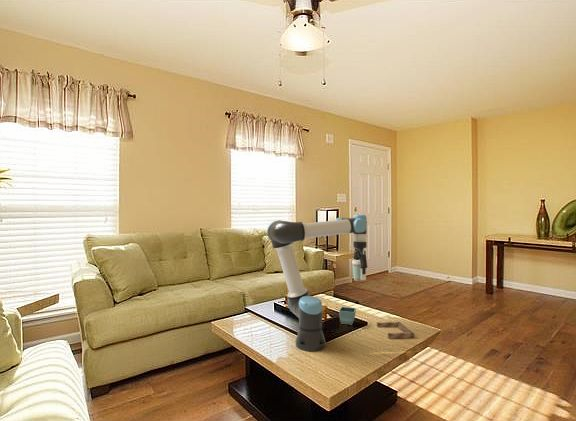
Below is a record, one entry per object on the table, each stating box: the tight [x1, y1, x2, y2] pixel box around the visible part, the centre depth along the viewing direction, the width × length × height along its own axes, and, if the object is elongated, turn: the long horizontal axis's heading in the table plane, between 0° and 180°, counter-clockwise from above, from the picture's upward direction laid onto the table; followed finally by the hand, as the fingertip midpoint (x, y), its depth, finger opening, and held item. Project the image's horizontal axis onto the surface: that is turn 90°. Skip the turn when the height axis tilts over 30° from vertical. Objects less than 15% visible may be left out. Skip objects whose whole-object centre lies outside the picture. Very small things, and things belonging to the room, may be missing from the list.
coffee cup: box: [351, 258, 365, 282], centre depth 189 cm, size 8×8×12 cm
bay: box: [376, 321, 415, 340], centre depth 178 cm, size 14×18×2 cm
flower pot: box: [338, 306, 357, 326], centre depth 190 cm, size 9×9×9 cm
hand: (359, 277), depth 187 cm, fingers open, 13 cm apart
